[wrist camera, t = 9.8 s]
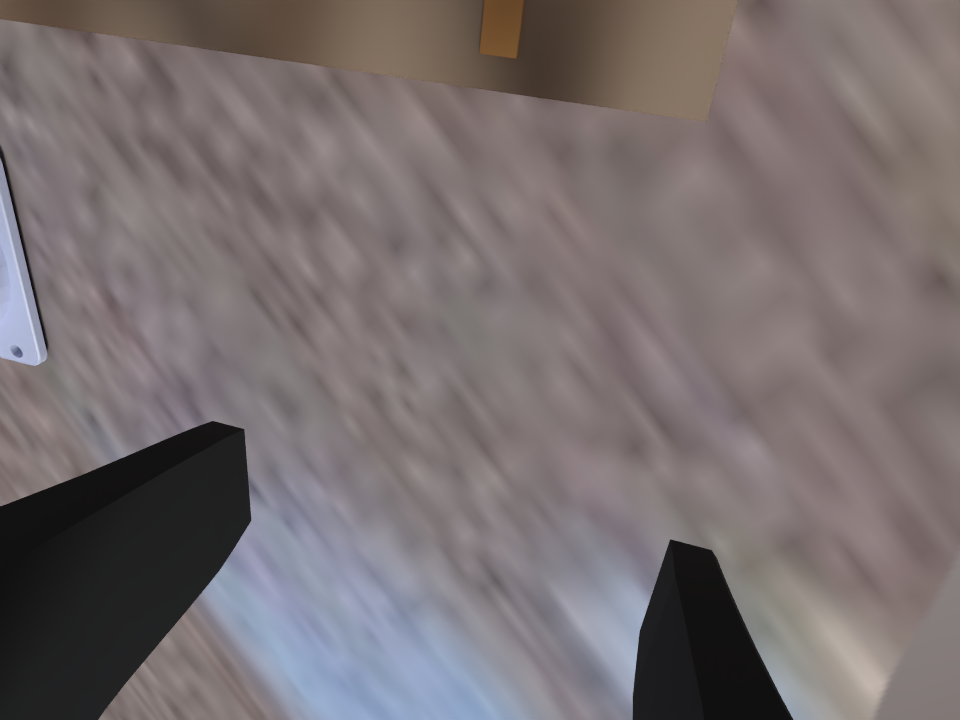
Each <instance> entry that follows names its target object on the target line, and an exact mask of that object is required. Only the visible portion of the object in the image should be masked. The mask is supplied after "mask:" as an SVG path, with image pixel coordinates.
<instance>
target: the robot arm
mask: <svg viewBox="0 0 960 720" xmlns="http://www.w3.org/2000/svg"><path fill="white" fill-rule="evenodd" d="M0 357H1V358H5V359H9V360H13V361H17V362H21V363H24V364H28V365H34V366H36V365H38V364H40V363H42V362H44V361H46V359H47V350H46V346H45V342H44V338H43V333H42V329H41V325H40V321H39V316H38V312H37V308H36V304H35V299H34V295H33V291H32V287H31V282H30V278H29V274H28V270H27V265H26V261H25V257H24V253H23V248H22V244H21V240H20V236H19V231H18V227H17V223H16V219H15V215H14V210H13V206H12V202H11V198H10V193H9V189H8V185H7V181H6V176H5V172H4V168H3V164H2V161H1V158H0ZM250 522H251V511H250V498H249V485H248V472H247V459H246V446H245V433H244V429H242V428H238V427H234V426H230V425H226V424H222V423H218V422H214V421H211V422H209V423H206V424H203V425H200V426H198V427H195V428H192V429H190V430H187V431H185V432H183V433H180V434H178V435H175V436H173V437H171V438H168V439H166V440H163V441H161V442H159V443H156V444H154V445H152V446H149V447H147V448H145V449H142V450H140V451H138V452H135V453H133V454H131V455H128V456H126V457H124V458H121V459H119V460H117V461H114V462H112V463H109V464H107V465H105V466H102V467H100V468H98V469H95V470H93V471H91V472H88V473H86V474H83V475H81V476H79V477H76V478H73V479H71V480H68V481H66V482H63V483H60V484H58V485H55V486H53V487H50V488H48V489H45V490H42V491H40V492H37V493H35V494H32V495H29V496H27V497H24V498H22V499H19V500H16V501H14V502H11V503H9V504H6V505H3V506H0V720H98V719H99V718H100V716H101V715H102V713H103V712H104V710H105V709H106V708H107V706H108V705H109V704H110V703H111V701H112V700H113V699H114V697H115V696H116V695H117V694H118V692H119V691H120V690H121V688H122V687H123V686H124V685H125V683H126V682H127V681H128V680H129V679H130V677H131V676H132V675H133V674H134V673H135V671H136V670H137V669H138V668H139V667H140V665H141V664H142V663H143V662H144V661H145V659H146V658H147V657H148V656H149V655H150V654H151V652H152V651H153V650H154V649H155V648H156V646H157V645H158V644H159V643H160V642H161V640H162V639H163V638H164V637H165V636H166V634H167V633H168V632H169V631H170V630H171V629H172V627H173V626H174V625H175V624H176V623H177V621H178V620H179V619H180V618H181V617H182V615H183V614H184V613H185V612H186V611H187V610H188V608H189V607H190V606H191V605H192V603H193V602H194V601H195V600H196V599H197V597H198V596H199V595H200V594H201V593H202V591H203V590H204V589H205V588H206V586H207V585H208V584H209V583H210V582H211V580H212V579H213V578H214V577H215V575H216V574H217V573H218V572H219V570H220V569H221V567H222V566H223V564H224V563H225V561H226V560H227V558H228V557H229V555H230V554H231V552H232V551H233V549H234V548H235V546H236V544H237V543H238V541H239V539H240V538H241V536H242V535H243V533H244V531H245V530H246V528H247V526H248V525H249V523H250ZM633 720H793V718H792V716H791V715H790V713H789V711H788V709H787V707H786V705H785V703H784V702H783V700H782V698H781V696H780V694H779V692H778V690H777V688H776V686H775V684H774V682H773V680H772V678H771V676H770V674H769V672H768V671H767V669H766V667H765V665H764V663H763V661H762V659H761V657H760V655H759V653H758V651H757V649H756V647H755V645H754V642H753V640H752V638H751V636H750V634H749V632H748V630H747V628H746V625H745V623H744V621H743V619H742V617H741V614H740V612H739V610H738V608H737V606H736V603H735V601H734V599H733V596H732V594H731V592H730V589H729V587H728V585H727V582H726V580H725V577H724V575H723V573H722V570H721V568H720V565H719V563H718V560H717V558H716V556H715V555H714V553H713V552H712V550H709V549H705V548H701V547H697V546H694V545H690V544H686V543H682V542H678V541H674V540H670V542H669V545H668V548H667V551H666V554H665V557H664V560H663V563H662V566H661V569H660V572H659V575H658V578H657V581H656V584H655V587H654V590H653V593H652V596H651V599H650V602H649V605H648V608H647V611H646V614H645V617H644V620H643V623H642V626H641V629H640V635H639V644H638V653H637V662H636V671H635V681H634V691H633Z"/></svg>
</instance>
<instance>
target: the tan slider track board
mask: <svg viewBox="0 0 960 720" xmlns="http://www.w3.org/2000/svg"><path fill="white" fill-rule="evenodd" d="M737 2H738V0H0V19H4V20H11V21H18V22H25V23H31V24H38V25H45V26H52V27H59V28H66V29H73V30H79V31H86V32H93V33H100V34H107V35H114V36H121V37H127V38H134V39H141V40H148V41H155V42H162V43H169V44H175V45H182V46H189V47H196V48H203V49H210V50H217V51H223V52H230V53H237V54H244V55H251V56H258V57H265V58H271V59H278V60H285V61H292V62H299V63H306V64H313V65H319V66H326V67H333V68H340V69H347V70H354V71H361V72H367V73H374V74H381V75H388V76H395V77H402V78H409V79H416V80H422V81H429V82H436V83H443V84H450V85H457V86H464V87H470V88H477V89H484V90H491V91H498V92H505V93H512V94H518V95H525V96H532V97H539V98H546V99H553V100H560V101H566V102H573V103H580V104H587V105H594V106H601V107H608V108H614V109H621V110H628V111H635V112H642V113H649V114H656V115H662V116H669V117H676V118H683V119H690V120H697V121H704V122H706V121H707V118H708V114H709V110H710V106H711V102H712V98H713V94H714V91H715V87H716V83H717V79H718V75H719V71H720V67H721V64H722V60H723V56H724V52H725V48H726V44H727V41H728V37H729V33H730V29H731V25H732V21H733V17H734V14H735V10H736V6H737Z"/></svg>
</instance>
